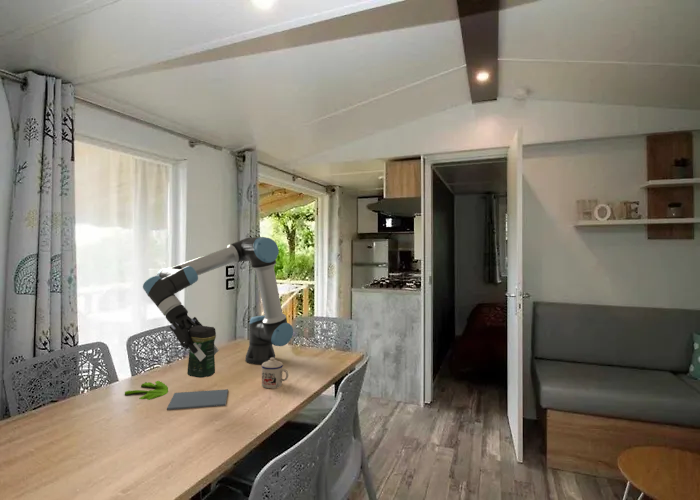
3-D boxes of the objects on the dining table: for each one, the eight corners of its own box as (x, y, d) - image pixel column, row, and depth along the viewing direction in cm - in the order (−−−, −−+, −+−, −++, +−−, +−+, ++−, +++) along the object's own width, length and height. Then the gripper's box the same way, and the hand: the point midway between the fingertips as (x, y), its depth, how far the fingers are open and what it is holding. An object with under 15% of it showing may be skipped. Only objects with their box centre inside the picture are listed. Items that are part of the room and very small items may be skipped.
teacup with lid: (256, 387, 161) (257, 359, 161) (267, 380, 170) (268, 354, 170) (283, 391, 158) (283, 362, 158) (292, 383, 167) (293, 356, 167)
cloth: (152, 403, 144) (152, 397, 144) (102, 398, 148) (102, 391, 148) (186, 385, 164) (186, 379, 164) (141, 380, 168) (141, 375, 168)
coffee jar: (218, 373, 148) (220, 325, 148) (203, 380, 141) (205, 329, 141) (198, 370, 152) (200, 323, 152) (183, 376, 144) (184, 326, 144)
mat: (227, 390, 157) (227, 389, 157) (225, 405, 142) (225, 403, 142) (174, 394, 152) (174, 392, 152) (166, 409, 137) (166, 408, 137)
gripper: (184, 312, 160) (218, 354, 156) (147, 321, 139) (186, 370, 136) (196, 300, 159) (230, 342, 155) (161, 307, 138) (199, 356, 135)
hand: (209, 355), depth 145 cm, fingers closed on coffee jar, 8 cm apart
